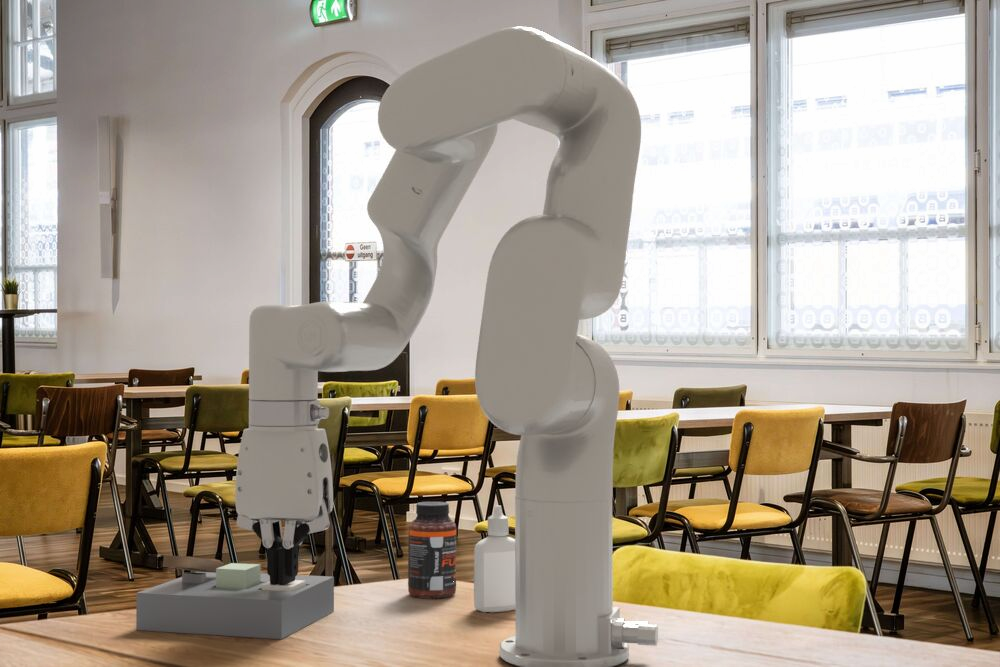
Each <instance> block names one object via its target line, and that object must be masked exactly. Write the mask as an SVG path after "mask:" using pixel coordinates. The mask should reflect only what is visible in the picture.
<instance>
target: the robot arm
mask: <svg viewBox="0 0 1000 667" xmlns="http://www.w3.org/2000/svg"><path fill="white" fill-rule="evenodd" d="M510 120H515V121H517V122H520V123H523V124H526V125H528V126H531V127H534V128H537V129H540V130H543V131H545V132H548V133H551V134H553V135H555V136H556V137H557V138H558V140H559V145H558V148H557V150H556V153H555V155H554V157H553V159H552V162H551V165H550V168H549V171H548V174H547V179H546V189H545V199H544V205H543V210H542V211H543V212H542V214H540V215H533V216H529V217H527V218H524V219H521V220H520V221H518V222H517V223H516V224H514V225H513V226H511V227H510V228H509V229H508V230H507V231H506V232H505V233H504V234H503V236H502V237H501V239H500V240H499V241H498V244H497V245H496V247H495V250H494V251H493V254H492V256H491V260H490V262H489V266H488V272H487V278H486V284H485V292H484V299H483V306H482V314H481V321H480V322H481V323H480V330H479V335H478V343H477V344H478V345H477V350H476V358H475V368H474V370H475V372H474V386H475V393H476V394H475V395H476V398H477V401H478V403H479V406H480V409H481V411H482V412H483V414H484V415H485V417H486V418H487V419H488V420H489V422H491V423H492V424H493V425H494V426H495V427H497V428H498V429H500V430H502V431H503V432H506V433H508V434H512V435H517V436H520V440H519V446H518V451H517V455H516V456H517V457H516V466H515V496H514V500H515V501H514V506H515V507H514V508H515V510H514V514H515V515H514V518H515V519H514V520H515V521H514V522H515V523H514V524H515V525H514V526H515V527H514V528H515V529H514V531H515V533H514V534H515V535H514V536H515V537H514V539H515V610H514V611H515V616H514V617H515V635H512V636H510V637H507V638H505V639H504V640H502V642H501V643H499V656H500V658H501V659H502V660H504V662H506V663H508V664H510V665H513V666H515V667H616V666H618V665H620V664H623V663H625V662H626V661H627V660H628V659H629V656H630V652H629V651H630V650H629V649H630V647H629V644H636V645H638V646H654V647H657V646H658V641H659V627H658V626H659V625H657V624H650V623H649V621H638V620H636V621H626V620H625V618H624V617H622V618H621V617H620V615H621V613H620V612H621V610H620V609H621V608H620V606H614V605H613V602H614V600H613V598H614V596H613V593H614V592H613V590H614V589H613V586H614V584H613V577H614V576H613V574H614V573H613V568H614V567H613V565H614V563H613V560H614V559H613V495H614V493H613V491H614V490H613V488H614V487H613V486H614V485H613V483H614V481H613V480H614V478H613V477H614V474H613V473H614V472H613V471H614V468H613V467H614V447H615V436H616V435H615V434H616V428H617V422H618V421H617V419H618V414H619V404H620V381H619V375H618V372H617V368H616V365H615V363H614V361H613V360H612V357H611V355H610V354H609V353H608V352H607V350H605V348H604V347H603V346H602V345H600V344H599V343H598V342H596V341H595V340H593V339H591V338H589V337H587V336H585V335H581V334H578V329H579V323H580V320H581V321H582V320H588V319H594V318H596V317H599V316H601V315H602V314H603V315H604V313H607V311H608V310H610V309H611V308H612V307H613V306H614V304H615V302H616V300H617V299H618V297H619V296H620V292H621V290H622V289H621V287H622V285H623V279H624V271H625V264H626V256H627V255H626V254H627V248H628V240H629V232H630V226H631V216H632V210H633V200H634V188H635V184H636V182H635V181H636V174H637V170H638V163H639V156H640V150H641V149H640V148H641V142H642V141H641V139H642V124H641V123H642V121H641V120H642V119H641V115H640V110H639V107H638V104H637V102H636V99H635V97H634V95H633V94H632V92H631V90H630V89H629V87H628V86H627V85H626V84H625V82H624V81H623V80H622V79H620V78H619V77H618V76H617V74H615V73H614V72H612V71H611V70H610V69H609V68H607V67H606V66H604V65H603V64H601V63H600V62H598V61H597V60H595V59H593V58H591V57H590V56H588V55H587V54H585V53H583V52H582V51H580V50H578V49H576V48H574V47H572V46H570V45H569V44H566V43H564V42H562V41H560V40H559V39H557V38H555V37H553V36H551V35H549V34H547V33H546V32H543V31H540V30H539V29H536V28H533V27H527V26H511V27H507V28H501V29H499V30H495V31H493V32H491V33H488V34H486V35H484V36H483V35H482V36H481V37H479V38H476V39H474V40H471V41H470V42H467V43H465V44H463V45H460V46H458V47H456V48H453V49H450V50H449V51H446V52H444V53H441V54H439V55H438V56H434V57H432V58H429V59H427V60H426V61H423V62H421V63H419V64H417V65H415V66H413V67H411V68H409V69H407V71H405V72H403V73H401V75H399V76H397V78H396V79H395V80H393V81H392V82H391V83H390V85H389V86H388V88H387V89H386V90H385V92H384V94H383V95H382V98H381V99H380V102H379V106H378V110H377V124H378V128H379V131H380V133H381V136H382V138H383V139H384V140H385V141H386V143H387V144H388V145H389V147H392V148H393V149H394V150H395V151H394V153H393V155H392V157H391V159H390V161H389V163H388V164H387V166H386V168H385V170H384V172H383V174H382V176H381V177H380V179H379V181H378V183H377V184H376V187H375V189H374V190H373V192H372V194H371V196H370V197H369V199H368V201H367V205H366V209H367V215H368V217H369V219H370V221H372V223H373V225H375V227H376V229H377V230H378V233H379V234H380V237H381V240H382V246H383V248H382V249H383V253H382V262H381V265H380V268H379V270H378V274H377V276H376V278H375V280H374V282H373V284H372V286H371V288H370V290H369V291H368V293H367V295H366V296H365V298H364V299H363V302H353V301H318V302H312V303H308V304H307V303H306V304H302V305H300V304H297V305H296V304H265V305H259V306H256V307H255V308H253V310H252V311H251V312H250V315H249V324H248V327H249V328H248V337H249V338H248V339H249V340H248V346H249V347H248V354H249V355H248V399H249V400H248V428H244V429H243V431H242V432H243V433H242V434H241V435H242V436H241V440H240V444H239V450H238V457H237V465H236V475H235V491H234V492H235V496H234V497H235V498H234V499H235V500H234V501H235V502H234V503H235V510H236V513H237V518H236V523H235V524H236V526H237V527H239V528H241V529H244V530H248V531H251V532H254V534H256V536H257V537H258V538H259V539H260V540H261V542H262V545H263V547H265V549H267V551H266V554H267V556H266V559H267V560H266V572H267V574H268V575H270V584H271V585H276V584H279V585H286V584H288V583H290V582H293V581H295V576H297V575H299V574H298V572H299V546H300V545H302V544H303V542H304V540H305V539H307V537H308V536H309V535H310V534H314V533H318V532H323V531H326V530H328V529H329V528H330V526H331V522H330V519H329V514H331V513H332V511H333V508H334V486H333V484H334V483H333V473H332V471H333V470H332V462H331V455H330V448H329V443H328V436H327V433H326V429H325V428H319V427H318V425H319V424H320V421H321V420H327V419H328V418H329V416H330V408H329V406H322V405H320V400H318V395H319V394H318V393H319V391H318V390H319V389H318V388H319V384H318V382H319V380H318V378H319V374H318V373H319V372H322V373H323V372H325V373H337V372H338V373H339V372H341V373H343V372H357V371H358V372H359V371H360V372H361V371H362V372H368V371H377V370H380V369H383V368H385V367H387V366H389V365H390V364H392V363H393V362H395V360H396V359H397V358H398V357H399V355H401V354H402V353H403V351H404V349H405V348H406V347H407V345H408V344H409V342H410V340H411V338H412V337H413V335H414V333H415V331H416V330H417V328H418V326H419V324H420V322H421V320H422V319H423V317H424V316H425V314H426V311H427V310H428V307H429V304H430V302H431V299H432V296H433V292H434V287H435V281H436V276H437V270H438V269H437V268H438V247H439V243H440V241H441V239H442V237H443V235H444V233H445V231H446V229H447V228H448V226H449V224H450V222H451V221H452V218H453V216H454V215H455V213H456V211H457V210H458V208H459V206H460V204H461V202H462V200H464V197H465V195H466V193H467V192H468V190H469V188H470V186H471V185H472V183H473V181H474V179H475V178H476V176H477V174H478V172H479V170H480V168H481V166H482V165H483V163H484V161H485V159H486V157H487V156H488V154H489V152H490V150H491V148H492V146H493V145H494V142H495V139H496V136H497V133H498V128H499V127H498V124H501V123H504V122H506V121H510ZM282 521H285V523H284V529H283V527H282Z"/></svg>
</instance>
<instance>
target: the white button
mask: <svg viewBox="0 0 1000 667" xmlns="http://www.w3.org/2000/svg"><path fill="white" fill-rule="evenodd" d="M305 586H306V581H303V580H295V581H293V582H290V583H288V584H286V585H279V584H276V585H271V584H270V582H268V583H266V584H263V585H262V590H274V591H293V592H294V591H296V590H299V589H301V588H303V587H305Z"/></svg>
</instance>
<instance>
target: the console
mask: <svg viewBox="0 0 1000 667" xmlns="http://www.w3.org/2000/svg"><path fill="white" fill-rule="evenodd" d="M295 580H303V581H306V586H305V587H303V588H301V589H299V590H296V591H294V592H293V591H274V590H262V585H263V584H266V583H268V582H270V575H268V573H265V572H263V573H262V572H261V584H259V585H256V586H254V587H251V588H249V589H236V588H216V573H212V572H196V571H189V572H188V571H185V572H182V574H181V576H180V577H177V578H175V579H171V580H169V581H166V582H164V583H161V584H158V585H155V586H153V587H152V586H151V587H150V588H146V589H142V590H140V591H137V592H136V597H135V598H136V604H135V605H136V609H135V610H136V611H135V612H136V613H135V615H136V617H135V618H136V621H135V622H136V624H135V627H136V631H144V632H145V631H146V632H158V633H159V632H160V633H162V632H163V633H176V634H177V633H179V634H192V635H193V634H195V635H212V636H223V637H224V636H226V637H239V638H240V637H241V638H256V639H257V638H258V639H270V640H271V639H272V640H273V639H274V640H283V639H284V638H287V637H289V636H291V635H292V634H294V633H296V632H298V631H300V630H302V629H304V628H305V627H308V626H310V625H311V624H313V623H316V622H318V621H319V620H320V619H323V618H324V617H327V616H328V615H330V614H332V613H334V612H335V577H334V576H326V575H325V576H324V575H309V574H308V575H306V574H297V576H295Z"/></svg>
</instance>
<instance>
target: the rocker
mask: <svg viewBox="0 0 1000 667" xmlns="http://www.w3.org/2000/svg"><path fill="white" fill-rule="evenodd" d="M224 563H225V562H223V561H221V560H220V559H215V558H203V557H202V558H201V557H196V556H185V555H184V556H183V555H168V554H167V555H163V561H162V567H163V568H164V567H165V568H169V569H170V568H172V569H177V570H184V571H189V572H212V573H216V568H219V567H222V566H225V564H224Z"/></svg>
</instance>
